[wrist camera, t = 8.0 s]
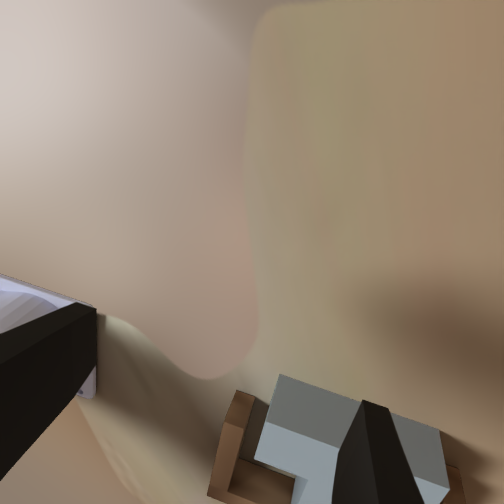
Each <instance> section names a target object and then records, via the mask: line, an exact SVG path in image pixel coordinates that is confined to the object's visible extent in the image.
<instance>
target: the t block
mask: <svg viewBox="0 0 504 504" xmlns="http://www.w3.org/2000/svg"><path fill="white" fill-rule="evenodd" d="M360 404H361V402H359V401H356V400H353V399H350V398H347V397H344V396H342V395H339V394H336V393H333V392H330V391H327V390H324V389H321V388H319V387H316V386H313V385H310V384H307V383H304V382H301V381H299V380H296V379H293V378H290V377H287V376H284V375H281V374H279V377H278V380H277V384H276V387H275V390H274V393H273V396H272V399H271V403H270V406H269V409H268V412H267V416H266V419H265V423H264V426H263V429H262V433H261V436H260V440H259V443H258V446H257V450H256V453H255V457H254V459H255V460H258V461H260V462H263V463H266V464H268V465H271V466H273V467H276V468H279V469H281V470H284V471H286V472H289V473H292V474H294V475H296V478H295V483H294V489H293V495H292V500H291V504H331V501H332V490H333V483H334V476H335V469H336V463H337V456H338V452H339V449H340V447H341V445H342V443H343V441H344V439H345V436H346V434H347V432H348V430H349V428H350V426H351V424H352V421H353V419H354V417H355V415H356V413H357V411H358V408H359V406H360ZM391 416H392V419H393V422H394V425H395V428H396V431H397V433H398V436H399V439H400V442H401V445H402V447H403V450H404V453H405V455H406V458H407V461H408V463H409V466H410V469H411V471H412V474H413V476H414V479H415V481H416V484H417V486H418V488H419V491H420V493H421V495H422V498H423V500H424V503H425V504H440V502H441V501H442V500H443V498H444V497H445V495H446V494H447V493H448V491H449V490H450V487H449V482H448V476H447V471H446V465H445V460H444V455H443V449H442V444H441V439H440V433H439V429H436V428H433V427H431V426H428V425H425V424H422V423H419V422H416V421H413V420H410V419H408V418H405V417H402V416H399V415H396V414H393V413H391Z"/></svg>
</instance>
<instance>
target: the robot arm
mask: <svg viewBox="0 0 504 504" xmlns="http://www.w3.org/2000/svg"><path fill="white" fill-rule="evenodd" d="M95 394H96V308H94V307H93V306H92V305H90V304H88V303H85V302H82V301H79V300H76V299H73V298H70V297H67V296H64V295H61V294H58V293H56V292H53V291H50V290H46V289H44V288H41V287H38V286H35V285H32V284H29V283H26V282H23V281H20V280H17V279H14V278H12V277H9V276H6V275H3V274H0V481H1V480H2V479H3V477H4V476H5V475H6V474H7V472H8V471H9V470H10V469H11V468H12V467H13V466H14V465H15V463H16V462H17V461H18V460H19V459H20V458H21V457H22V455H23V454H24V453H25V452H26V451H27V450H28V449H29V448H30V447H31V445H32V444H33V443H34V442H35V441H36V440H37V439H38V438H39V436H40V435H41V434H42V433H43V432H44V431H45V430H46V428H47V427H48V426H49V425H50V424H51V423H52V422H53V421H54V420H55V418H56V417H57V416H58V415H59V414H60V413H61V412H62V410H63V409H64V408H65V407H66V406H67V405H68V404H69V402H70V401H71V400H72V399H73V398H74V396H75V395H78V396H81V397H84V398H86V399H92V398H93V397H94V396H95ZM331 504H425V503H424V500H423V498H422V495H421V493H420V491H419V488H418V486H417V484H416V481H415V479H414V476H413V474H412V471H411V469H410V466H409V463H408V461H407V458H406V455H405V453H404V450H403V447H402V445H401V442H400V439H399V436H398V433H397V431H396V428H395V425H394V422H393V419H392V416H391V413H390V411H389V409H388V408H386V407H383V406H380V405H377V404H374V403H371V402H368V401H365V400H362V402H361V404H360V406H359V408H358V411H357V413H356V415H355V417H354V419H353V421H352V424H351V426H350V428H349V430H348V432H347V434H346V436H345V439H344V441H343V443H342V445H341V447H340V449H339V452H338V456H337V463H336V469H335V476H334V483H333V490H332V501H331Z"/></svg>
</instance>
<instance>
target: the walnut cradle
mask: <svg viewBox="0 0 504 504" xmlns="http://www.w3.org/2000/svg"><path fill="white" fill-rule="evenodd" d="M254 400H255V397H254V396H251V395H248V394H245V393H243V392H240V391H237V390H236V393H235V395H234V398H233V400H232V403H231V405H230V407H229V410H228V412H227V415H226V417H225V420H224V423H223V427H222V432H221V436H220V440H219V445H218V449H217V453H216V458H215V462H214V466H213V471H212V475H211V479H210V484H209V488H208V492H207V496H209V497H212V498H214V499H217V500H219V501H222V502H224V503H227V504H291V500H292V495H293V489H294V483H295V479H292V478H289V477H287V476H284V475H281V474H279V473H276V472H274V471H271V470H268V469H266V468H263V467H260V466H258V465H255V464H252V463H250V462H247V461H245V460H242V459H239V454H240V450H241V447H242V443H243V439H244V436H245V432H246V429H247V425H248V421H249V418H250V414H251V410H252V407H253V403H254ZM445 465H446V464H445ZM446 471H447V476H448V482H449V487H450V490H449V491H448V493H447V494H446V495H445V497H444V498H443V500H442V501H441V502H440V504H466V501H465V496H464V492H463V487H462V482H461V477H460V473H459V469H457V468H454V467H451V466H449V465H446Z"/></svg>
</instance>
